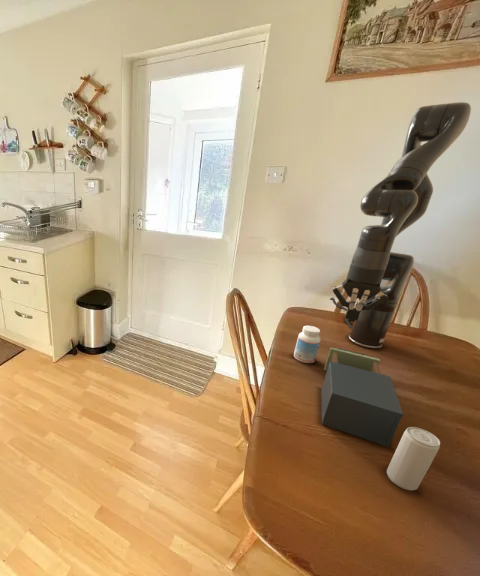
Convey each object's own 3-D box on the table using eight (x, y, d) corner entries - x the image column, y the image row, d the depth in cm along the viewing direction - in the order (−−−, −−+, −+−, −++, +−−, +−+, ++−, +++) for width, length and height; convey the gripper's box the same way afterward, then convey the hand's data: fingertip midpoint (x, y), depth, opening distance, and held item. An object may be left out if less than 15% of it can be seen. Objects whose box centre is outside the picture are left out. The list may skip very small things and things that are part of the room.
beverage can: (409, 474, 65) (431, 429, 60) (423, 495, 60) (448, 449, 56) (381, 467, 66) (400, 423, 62) (392, 488, 62) (414, 442, 58)
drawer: (323, 359, 101) (330, 338, 99) (368, 371, 95) (376, 349, 93) (324, 395, 86) (332, 371, 83) (378, 411, 80) (388, 387, 77)
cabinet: (321, 389, 89) (330, 360, 86) (378, 406, 83) (390, 376, 79) (321, 424, 77) (332, 392, 74) (388, 447, 71) (403, 414, 67)
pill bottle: (318, 364, 100) (327, 334, 96) (297, 362, 101) (305, 332, 97) (310, 354, 106) (318, 325, 102) (290, 352, 107) (297, 323, 103)
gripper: (397, 264, 85) (377, 321, 92) (337, 257, 92) (323, 310, 98) (403, 272, 80) (381, 331, 86) (339, 264, 86) (323, 320, 93)
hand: (350, 320), depth 92 cm, fingers closed
